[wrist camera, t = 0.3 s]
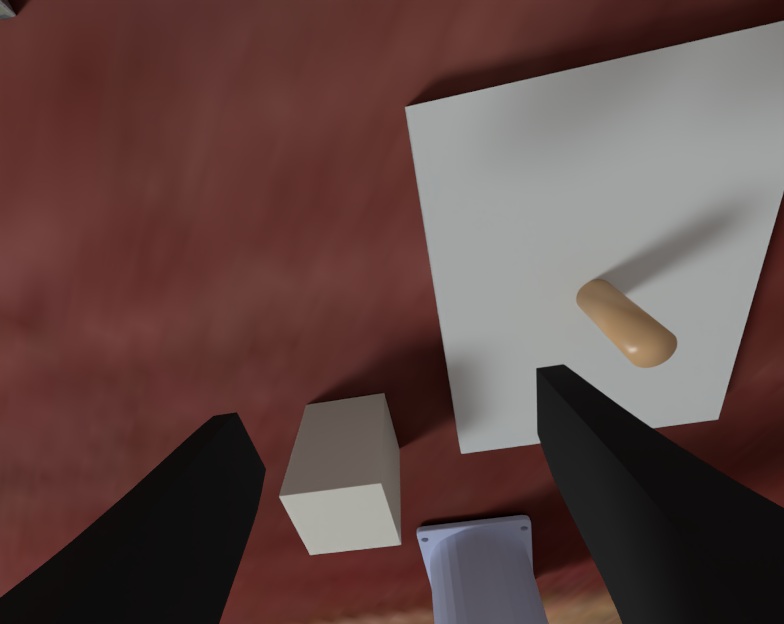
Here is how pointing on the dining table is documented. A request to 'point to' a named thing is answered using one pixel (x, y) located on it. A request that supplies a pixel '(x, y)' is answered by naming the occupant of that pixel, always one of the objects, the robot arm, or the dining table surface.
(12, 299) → the dining table surface
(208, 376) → the dining table surface
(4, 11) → the caliper
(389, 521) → the cream rectangular prism
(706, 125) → the light gray slab
